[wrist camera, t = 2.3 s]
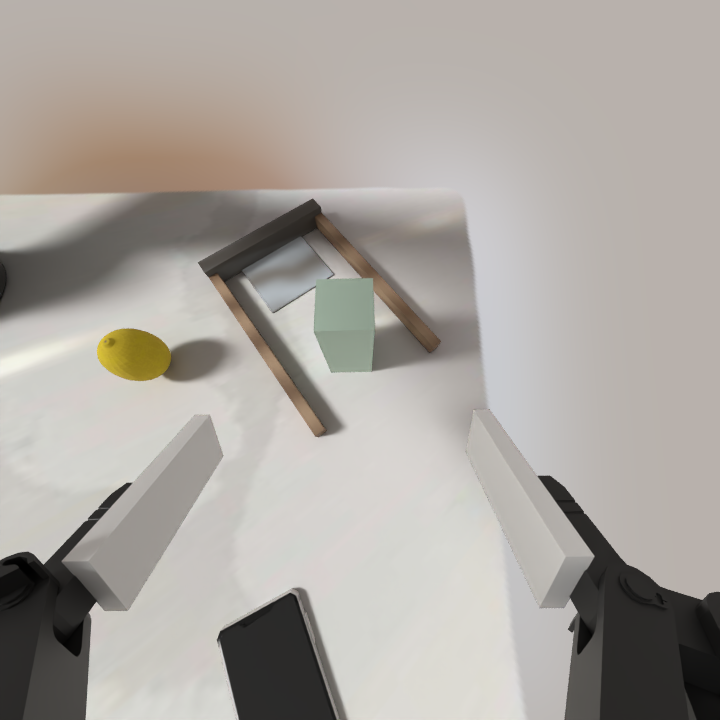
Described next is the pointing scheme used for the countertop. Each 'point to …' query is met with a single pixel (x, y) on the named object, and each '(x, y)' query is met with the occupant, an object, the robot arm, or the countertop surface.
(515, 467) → the robot arm
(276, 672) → the smartphone
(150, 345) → the lemon
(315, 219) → the track
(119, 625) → the countertop surface
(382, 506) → the countertop surface
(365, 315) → the block
